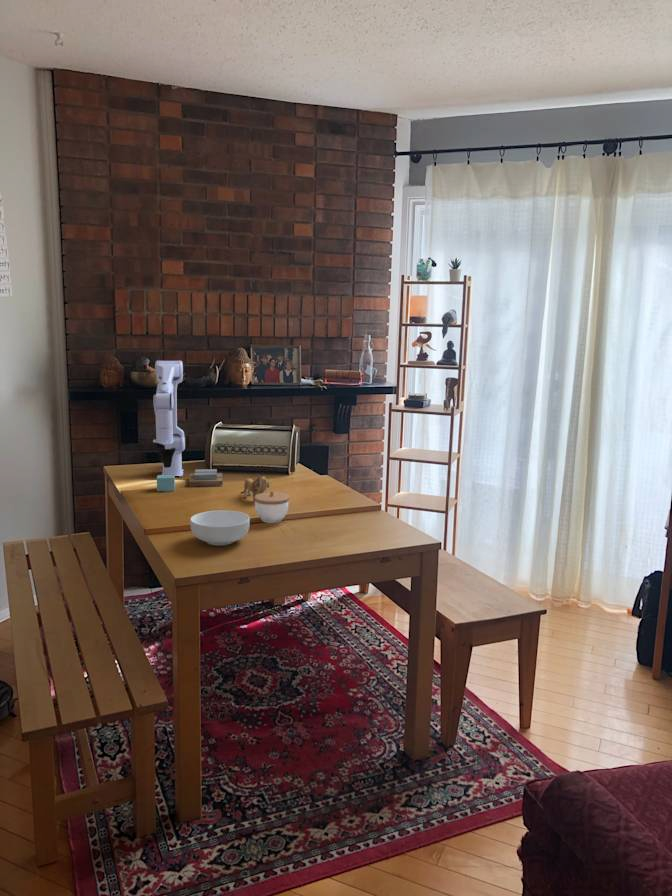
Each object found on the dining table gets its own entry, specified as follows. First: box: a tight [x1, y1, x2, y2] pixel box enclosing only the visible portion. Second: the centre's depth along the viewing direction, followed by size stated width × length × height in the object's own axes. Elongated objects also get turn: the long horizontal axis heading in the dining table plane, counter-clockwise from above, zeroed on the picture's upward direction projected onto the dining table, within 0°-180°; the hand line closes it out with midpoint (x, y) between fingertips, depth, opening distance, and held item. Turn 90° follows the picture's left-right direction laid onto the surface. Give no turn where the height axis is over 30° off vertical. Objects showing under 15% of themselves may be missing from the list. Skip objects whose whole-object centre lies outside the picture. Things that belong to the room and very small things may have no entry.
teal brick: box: [156, 474, 176, 492], centre depth 264 cm, size 4×6×5 cm
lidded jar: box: [254, 490, 290, 524], centre depth 231 cm, size 11×11×9 cm
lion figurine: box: [240, 476, 272, 504], centre depth 254 cm, size 15×5×9 cm, turn 44°
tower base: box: [188, 468, 223, 487], centre depth 275 cm, size 12×12×4 cm
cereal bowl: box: [189, 509, 251, 547], centre depth 211 cm, size 17×17×7 cm
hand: (165, 464), depth 262 cm, fingers open, 7 cm apart
